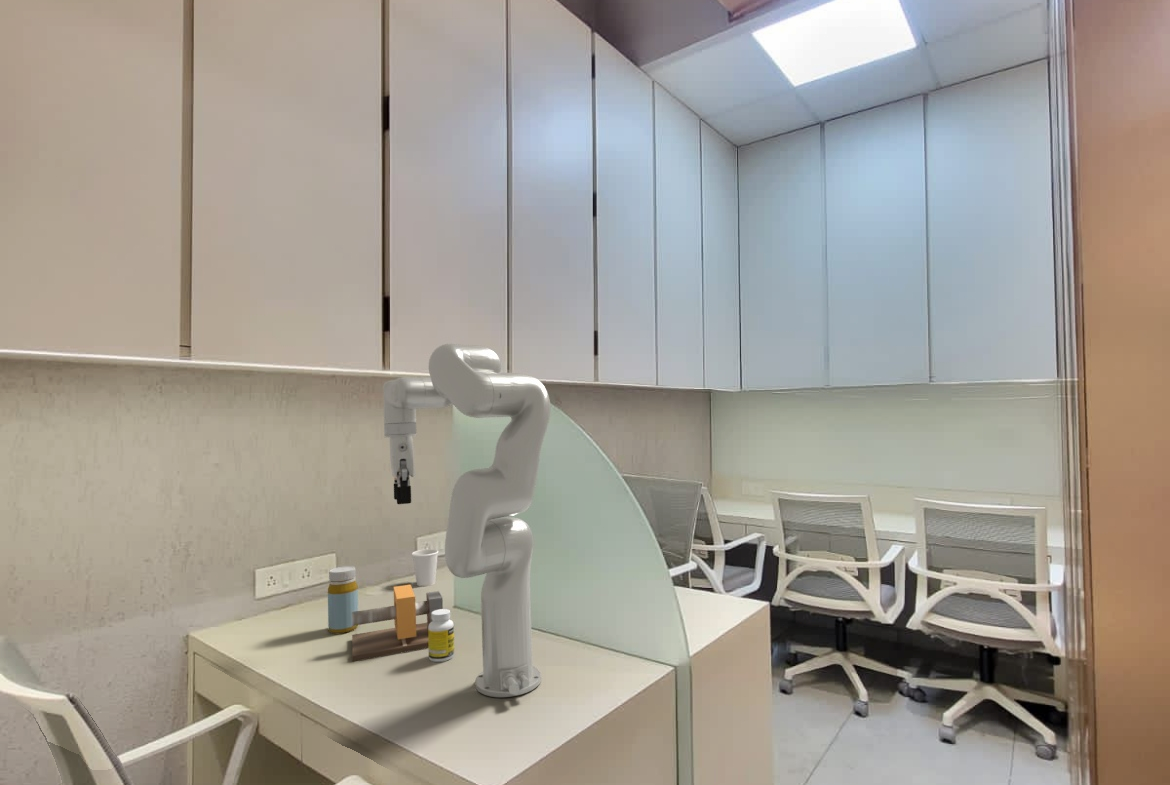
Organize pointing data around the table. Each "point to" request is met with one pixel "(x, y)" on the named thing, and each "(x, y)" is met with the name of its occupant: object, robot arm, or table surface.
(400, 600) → the collar
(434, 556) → the dixie cup
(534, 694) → the table surface
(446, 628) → the supplement bottle
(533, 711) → the table surface
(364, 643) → the pipe stand
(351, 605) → the bottle
